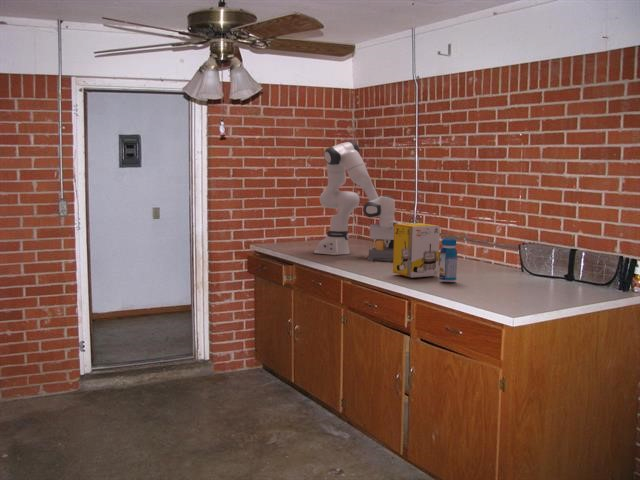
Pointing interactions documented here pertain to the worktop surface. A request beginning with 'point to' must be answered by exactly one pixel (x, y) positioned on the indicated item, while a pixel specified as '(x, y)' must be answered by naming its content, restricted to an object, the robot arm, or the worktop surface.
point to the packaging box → (416, 249)
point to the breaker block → (381, 255)
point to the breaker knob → (380, 245)
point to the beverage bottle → (448, 260)
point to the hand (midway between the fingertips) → (387, 247)
